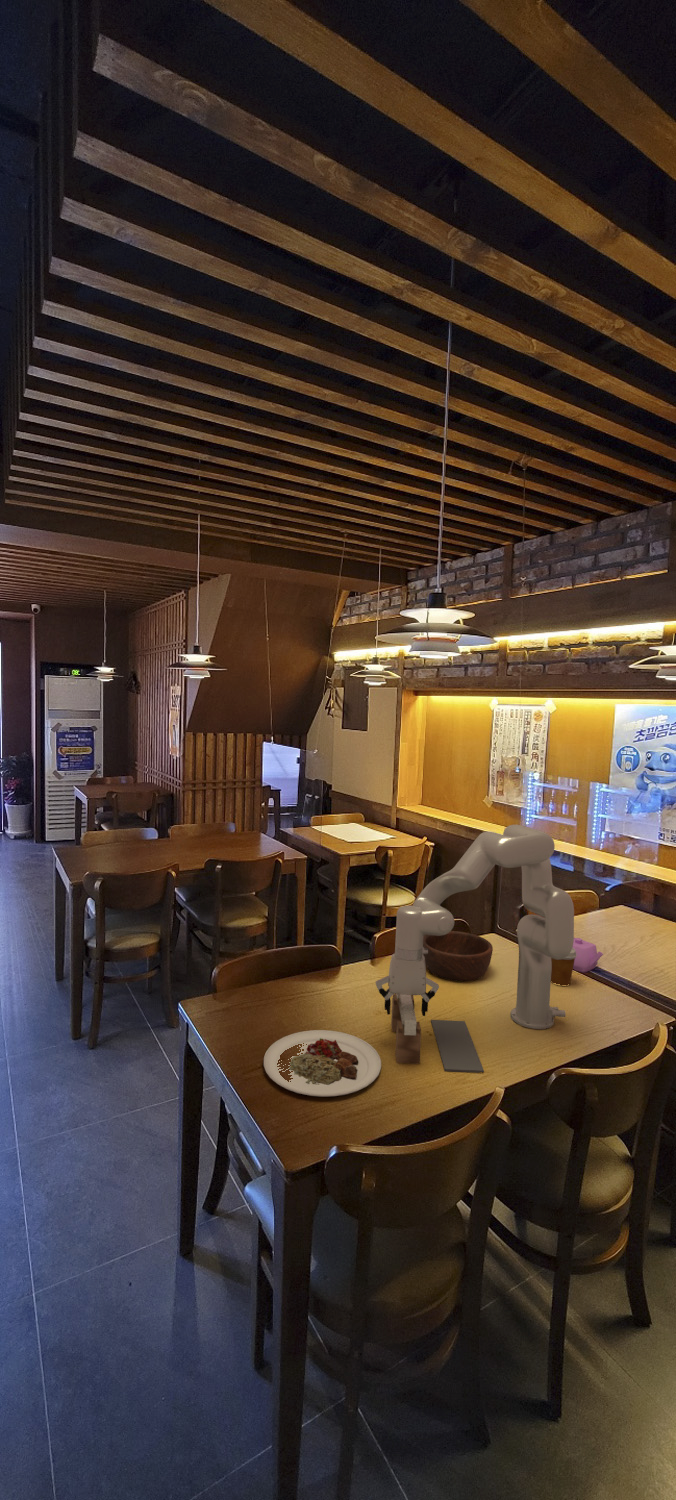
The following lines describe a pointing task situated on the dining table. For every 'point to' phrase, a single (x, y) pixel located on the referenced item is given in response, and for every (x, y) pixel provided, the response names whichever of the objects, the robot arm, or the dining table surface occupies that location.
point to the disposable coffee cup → (563, 969)
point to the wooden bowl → (457, 955)
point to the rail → (407, 1014)
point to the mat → (456, 1046)
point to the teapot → (585, 955)
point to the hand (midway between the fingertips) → (405, 1013)
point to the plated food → (324, 1063)
